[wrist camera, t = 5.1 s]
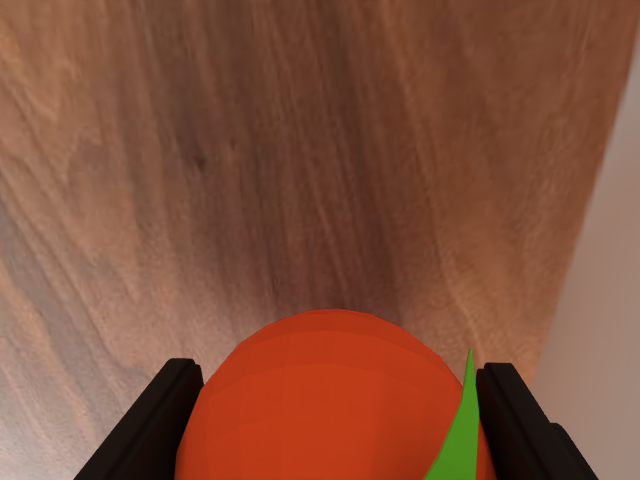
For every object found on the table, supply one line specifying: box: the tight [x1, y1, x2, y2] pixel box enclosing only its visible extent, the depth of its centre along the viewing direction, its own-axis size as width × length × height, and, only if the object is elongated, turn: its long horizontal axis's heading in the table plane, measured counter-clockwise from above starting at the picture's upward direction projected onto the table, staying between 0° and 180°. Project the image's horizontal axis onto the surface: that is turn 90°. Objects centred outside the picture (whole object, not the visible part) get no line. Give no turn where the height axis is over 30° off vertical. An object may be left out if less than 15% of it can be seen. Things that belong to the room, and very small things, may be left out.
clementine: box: [174, 309, 497, 480], centre depth 8 cm, size 8×7×7 cm
